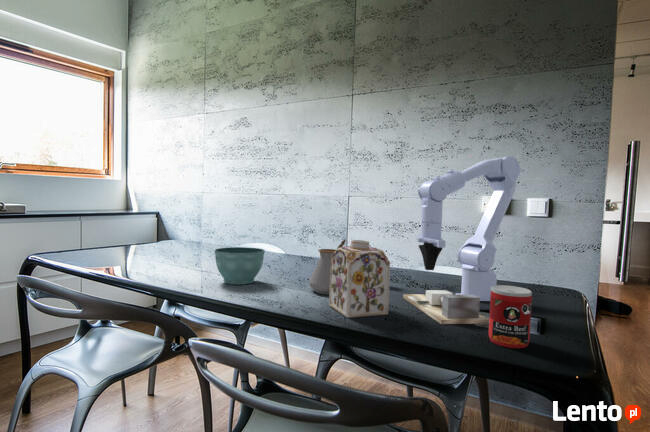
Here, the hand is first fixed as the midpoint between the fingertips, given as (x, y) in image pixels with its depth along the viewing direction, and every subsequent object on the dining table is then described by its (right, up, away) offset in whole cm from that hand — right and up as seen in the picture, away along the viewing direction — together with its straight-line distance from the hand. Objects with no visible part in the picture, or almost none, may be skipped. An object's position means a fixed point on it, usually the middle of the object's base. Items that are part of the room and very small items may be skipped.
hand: (429, 269), depth 112 cm
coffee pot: (-28, -8, +12) cm, 31 cm away
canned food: (+8, -11, -32) cm, 34 cm away
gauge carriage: (0, -8, -10) cm, 13 cm away
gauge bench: (+1, -9, -8) cm, 12 cm away
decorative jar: (-22, -9, -12) cm, 26 cm away
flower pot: (-59, -7, +16) cm, 61 cm away
